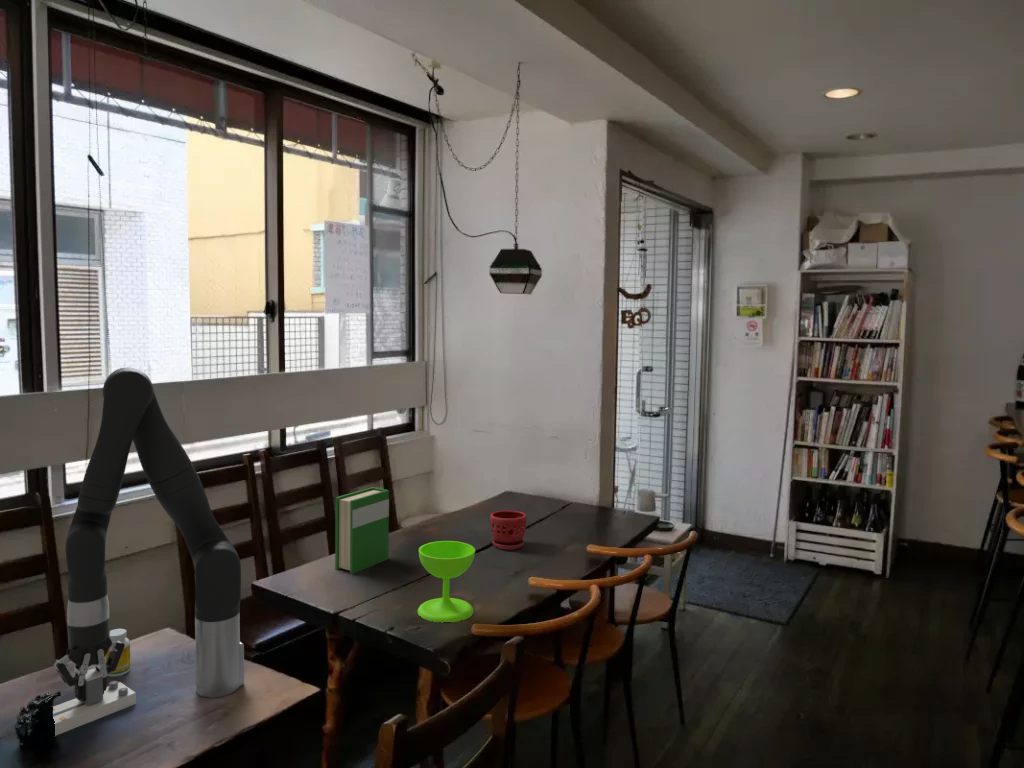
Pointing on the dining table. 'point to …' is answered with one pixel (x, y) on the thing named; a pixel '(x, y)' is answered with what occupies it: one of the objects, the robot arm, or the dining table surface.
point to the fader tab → (93, 687)
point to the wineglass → (446, 579)
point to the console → (92, 708)
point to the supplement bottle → (125, 656)
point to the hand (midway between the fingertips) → (91, 696)
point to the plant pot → (508, 529)
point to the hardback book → (361, 529)
